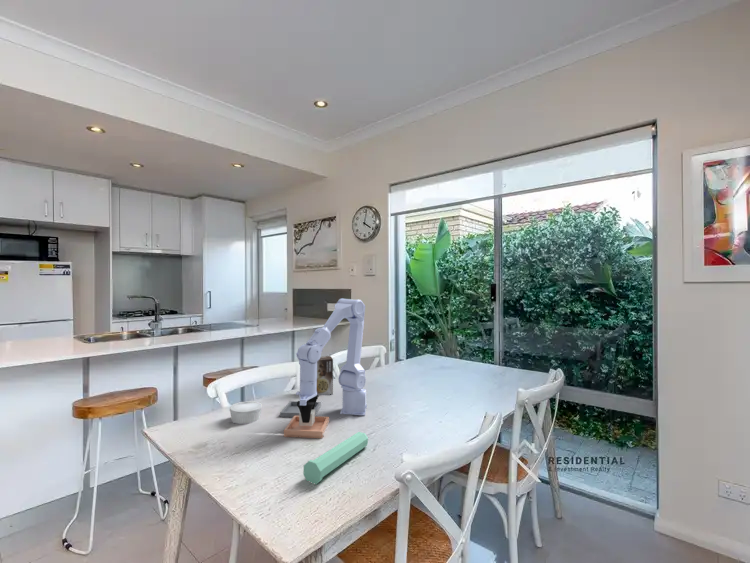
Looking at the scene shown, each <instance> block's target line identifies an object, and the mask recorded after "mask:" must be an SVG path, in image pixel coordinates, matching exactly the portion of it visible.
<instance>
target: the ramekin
mask: <svg viewBox="0 0 750 563" xmlns="http://www.w3.org/2000/svg"><path fill="white" fill-rule="evenodd" d="M262 409H263V404H262V403H261V402H259V401H254V400H252V401H249V400H248V401H240V402H236V403H234V404H231V405H230V406H229V412H230V419H231V422H232V423H233V424H234V425H235V424H237V425H245V424H246V425H247V424H252V423H255V422H257V421H259V419H260V418H261V414H262Z"/></svg>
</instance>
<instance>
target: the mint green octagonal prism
mask: <svg viewBox="0 0 750 563" xmlns="http://www.w3.org/2000/svg"><path fill="white" fill-rule="evenodd" d="M368 442H369V437H368V435H367V434H366V433H365V432H361V431H358V432H356V433H355V434H353V435H351V436H350V437H348V438H346V439H345V440H343V441H342V442H340V443H338V444H337V445H335V446H334V447H332V448H331V449H329V450H328V451H326V452H324V453H322V454H321V455H319V456H318V457H316V458H314V459H309V460H308V461H307V462H306V463H305V464H304V465H303V470H302V471H303V472H302V474H303V477H304V479H305V481H306V482H307V481H310V482H312V483H311V484H313V483H315V484H316V485H317V484H319V482H321V481H322V480H323V478H325V477H326V476H327V475H329V474H330V473H331V472H332V471H335V469H337V468H338V467H340V466H341V465H343V464H344V463H345V462H347V461H348V460H349V459H351V458H352V457H353V456H354V455H356V454H357V453H359V452H360V451H362V450H363V449H365V448H366V447H367V446H368ZM310 482H309V483H310ZM315 484H314V485H315Z"/></svg>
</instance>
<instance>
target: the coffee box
mask: <svg viewBox="0 0 750 563" xmlns="http://www.w3.org/2000/svg"><path fill="white" fill-rule="evenodd" d="M333 381H334V358H332V356H330V355H329V356H328V355H324V356H321V357H320V359H319V360H318V361H317V395H319V396H329V395H330V394H331V395H334V389H333V388H334V382H333Z"/></svg>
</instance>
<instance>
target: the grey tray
mask: <svg viewBox="0 0 750 563" xmlns="http://www.w3.org/2000/svg"><path fill="white" fill-rule="evenodd" d="M298 401H299V400H289V402H287V404H286V405H285V406H284V407H283V408H282V409H281V411H280V413H279V415H280V416H279V417H280V418H293V417H294V416H299V413H300V410H299V408H298V406H297V402H298ZM321 406H322V402H321V401H316V404H315V408H314V409H315V416H317V414H318V412H319V410H320V409H321Z"/></svg>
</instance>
